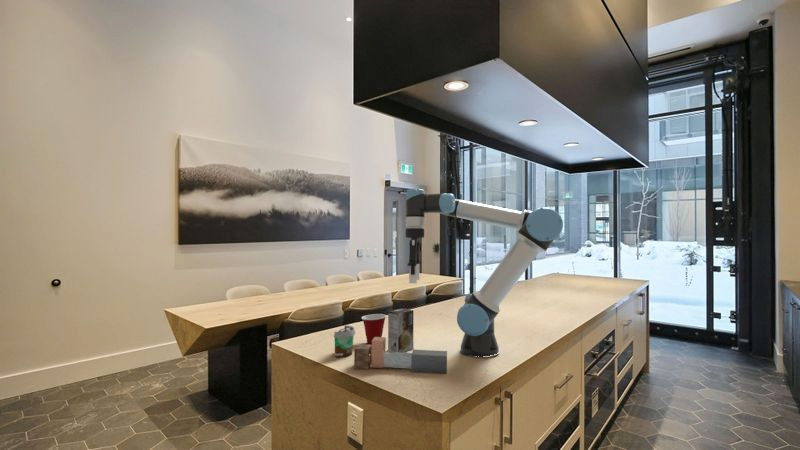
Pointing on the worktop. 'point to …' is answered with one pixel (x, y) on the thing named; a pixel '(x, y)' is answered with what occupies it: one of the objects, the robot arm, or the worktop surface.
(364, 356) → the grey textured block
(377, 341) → the slider
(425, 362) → the block
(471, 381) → the worktop surface
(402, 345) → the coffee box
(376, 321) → the plastic cup
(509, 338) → the worktop surface
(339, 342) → the food container
